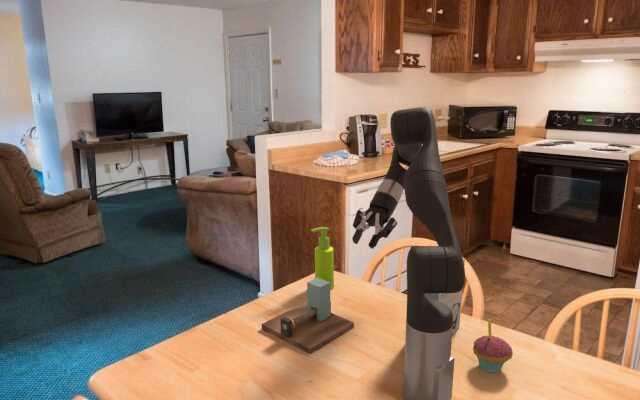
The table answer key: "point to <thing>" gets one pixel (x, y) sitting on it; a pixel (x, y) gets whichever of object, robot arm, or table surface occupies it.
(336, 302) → the table surface
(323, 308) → the tall pale blue block
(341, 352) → the table surface
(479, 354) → the cupcake
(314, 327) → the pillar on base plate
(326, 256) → the soap dispenser
